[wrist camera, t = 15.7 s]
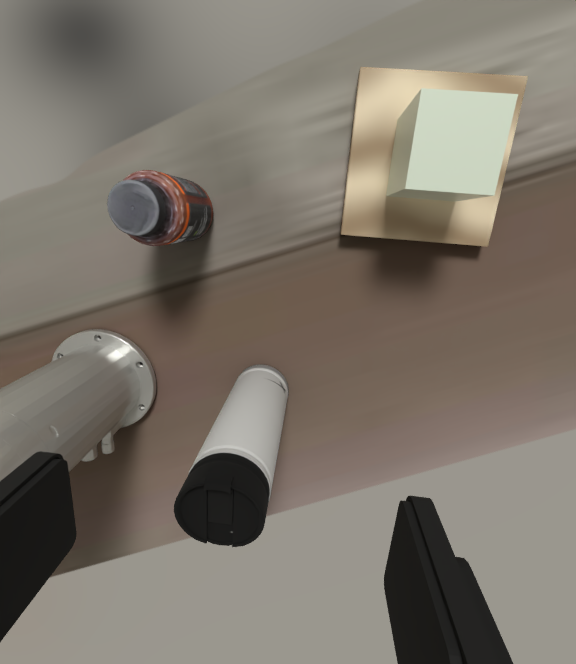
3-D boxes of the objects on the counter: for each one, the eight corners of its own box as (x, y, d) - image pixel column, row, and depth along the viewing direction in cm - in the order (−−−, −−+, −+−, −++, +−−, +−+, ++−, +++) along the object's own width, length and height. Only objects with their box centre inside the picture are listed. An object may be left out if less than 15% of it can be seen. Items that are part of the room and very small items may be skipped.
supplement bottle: (159, 175, 36) (93, 156, 26) (217, 185, 36) (174, 169, 25) (157, 236, 38) (93, 241, 27) (212, 245, 38) (169, 254, 27)
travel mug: (291, 363, 41) (267, 486, 22) (286, 414, 43) (261, 567, 24) (237, 358, 41) (168, 473, 22) (235, 409, 43) (170, 555, 24)
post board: (481, 245, 36) (521, 251, 29) (340, 234, 37) (345, 236, 29) (518, 83, 32) (576, 42, 24) (358, 73, 32) (370, 31, 25)
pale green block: (455, 201, 33) (494, 195, 26) (385, 196, 34) (405, 188, 26) (471, 124, 32) (518, 94, 24) (397, 119, 32) (421, 88, 24)
